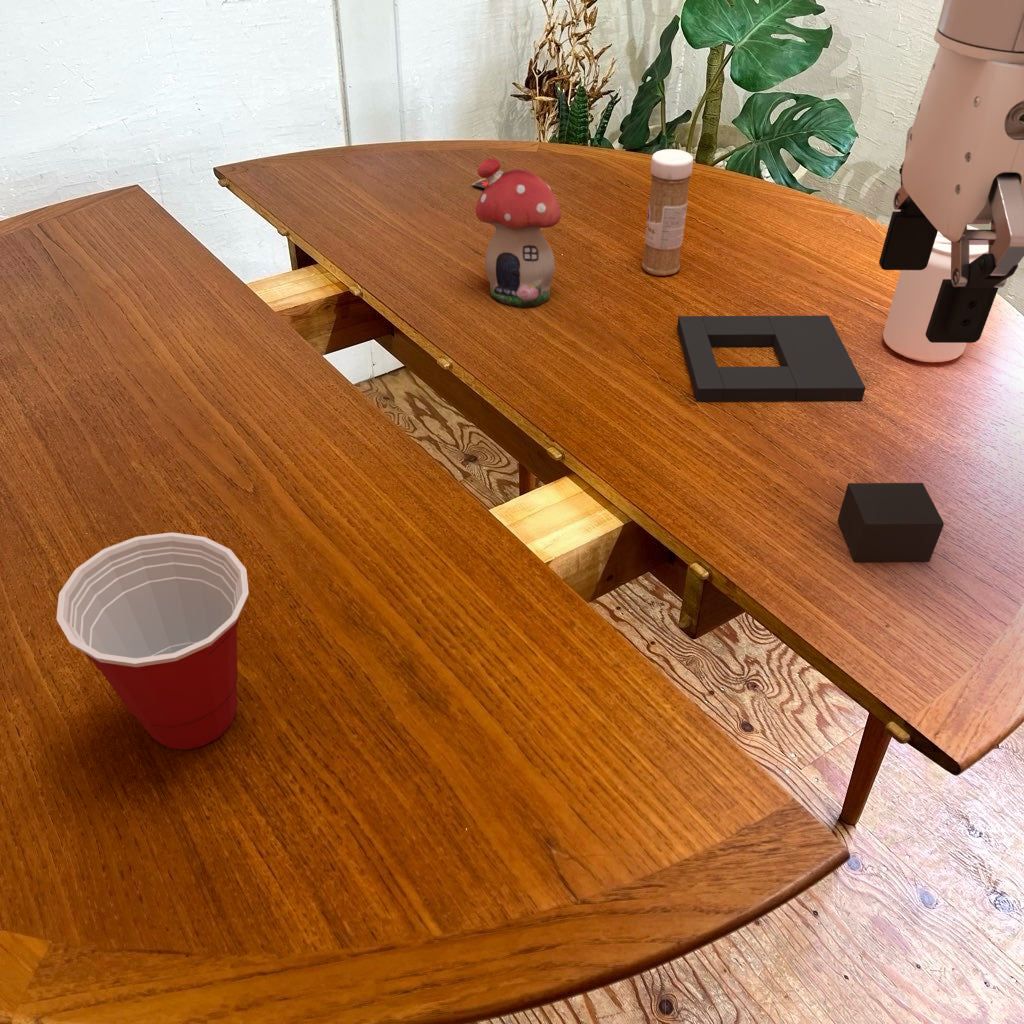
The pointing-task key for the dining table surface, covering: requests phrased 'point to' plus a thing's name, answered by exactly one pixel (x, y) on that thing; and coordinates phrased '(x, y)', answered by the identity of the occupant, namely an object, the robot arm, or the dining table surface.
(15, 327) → the dining table surface
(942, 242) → the beverage can
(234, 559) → the plastic cup
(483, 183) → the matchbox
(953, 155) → the robot arm
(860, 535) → the small black block
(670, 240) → the sprinkles bottle
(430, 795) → the dining table surface
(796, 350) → the base pad
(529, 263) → the decorative ornament
